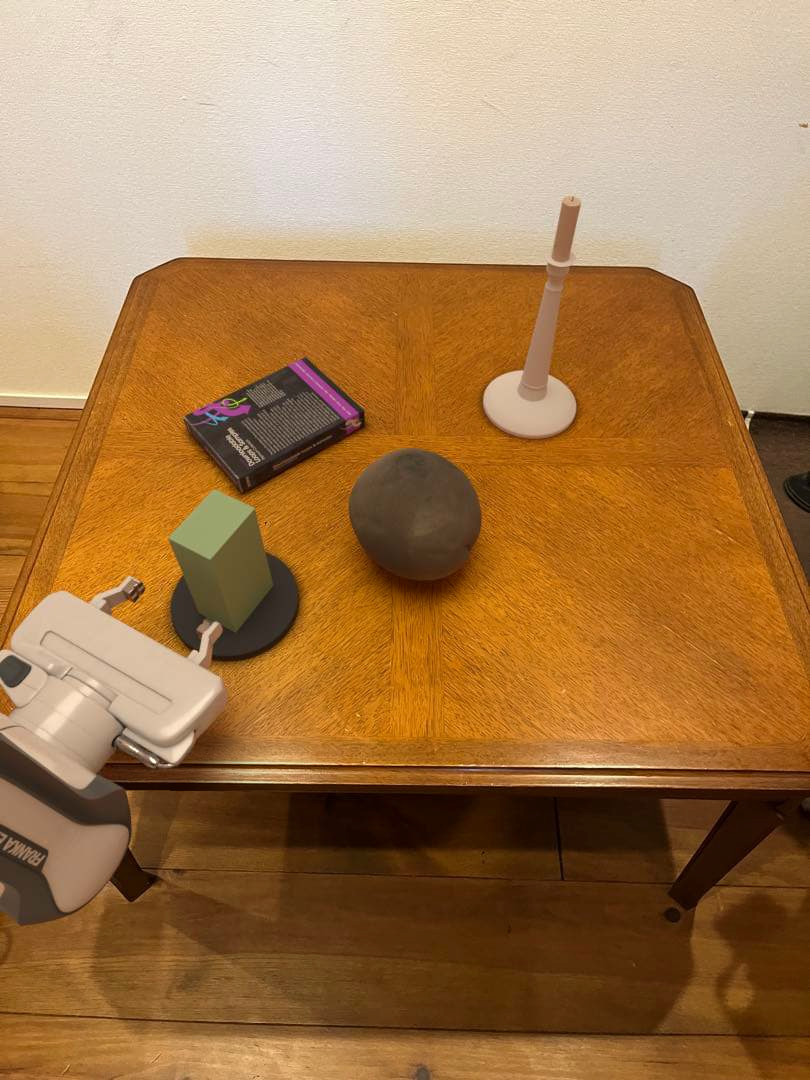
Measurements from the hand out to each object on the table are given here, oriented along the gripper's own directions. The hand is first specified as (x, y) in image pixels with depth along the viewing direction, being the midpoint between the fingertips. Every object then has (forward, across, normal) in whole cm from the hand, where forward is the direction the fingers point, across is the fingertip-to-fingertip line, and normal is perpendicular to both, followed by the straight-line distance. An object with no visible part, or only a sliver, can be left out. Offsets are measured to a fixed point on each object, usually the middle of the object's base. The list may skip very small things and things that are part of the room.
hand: (176, 602), depth 71 cm
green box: (+7, 0, +9) cm, 11 cm away
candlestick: (+52, -16, +10) cm, 56 cm away
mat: (+7, 0, +10) cm, 12 cm away
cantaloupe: (+22, -14, +10) cm, 28 cm away
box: (+31, +11, +10) cm, 35 cm away
